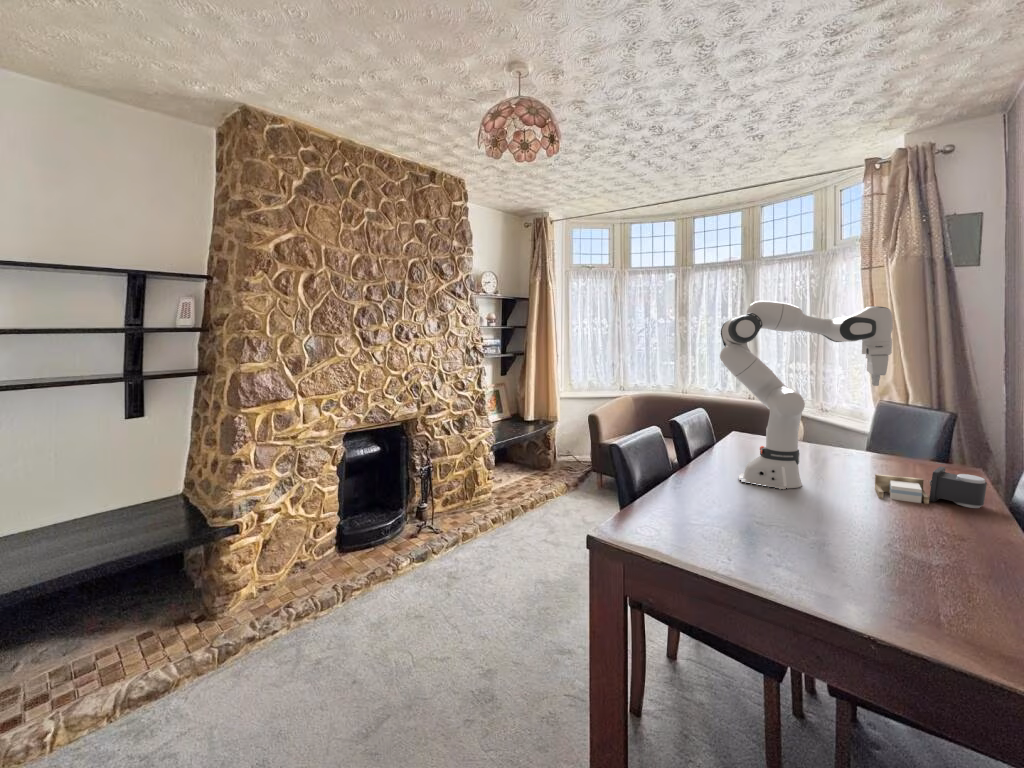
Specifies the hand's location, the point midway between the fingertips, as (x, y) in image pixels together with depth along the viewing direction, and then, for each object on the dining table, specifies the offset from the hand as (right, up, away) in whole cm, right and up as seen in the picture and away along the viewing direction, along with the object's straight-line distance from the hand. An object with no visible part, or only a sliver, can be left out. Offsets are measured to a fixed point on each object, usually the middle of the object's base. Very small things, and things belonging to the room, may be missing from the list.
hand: (875, 385), depth 171 cm
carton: (+2, -40, -11) cm, 42 cm away
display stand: (+1, -40, -10) cm, 41 cm away
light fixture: (+14, -41, -17) cm, 46 cm away
